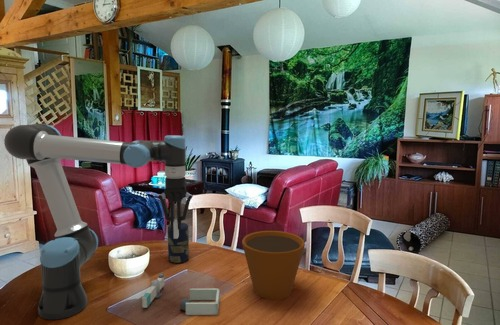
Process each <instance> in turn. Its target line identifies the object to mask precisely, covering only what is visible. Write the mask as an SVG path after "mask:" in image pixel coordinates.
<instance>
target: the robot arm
mask: <svg viewBox="0 0 500 325" xmlns="http://www.w3.org/2000/svg"><path fill="white" fill-rule="evenodd" d="M3 142H4V146H5V147H4V148H5V149H6V151H7V152H8V153H9V154H10V155H11V156H12V157H14V158H16V159H20V160H25V161H26V163H27V166H29V167H31V168H33V169H34V170H35V174H36V175H37V179H38V182H39V184H40V186H41V189H42V193H43V195H44V198H45V201H46V203H47V205H48V208H49V211H50V214H51V217H52V219H53V221H54V225H55V228H56V232H55V233H54V238H55V239H54V240H52V239H51V240H50V241H47V242H46V243H45V244H44V245H43V246H42V247H41V249H40V256H39V262H40V268H41V269H40V270H41V283H42V284H41V286H42V292H41V295H40V299H39V302H38V305H37V312H38V316H39V315H40V316H41V317H42V319H44V318H45V320H51V321H53V320H60V319H61V320H62V319H67V318H69V317H72V316H75V315H78V314H79V313H80V312H82V311H83V310H84V309H85V308H86V307H87V306H88V296H87V293H86V291H85V289H84V287H83V285H82V281H81V267H82V266H84V264H85V263H86V262H87V261H88V260H89V259H91V258H92V257H93V256H94V254H95V253H96V251H97V249H98V246H99V238H98V235H97V234H96V233H95V230H92V229H91V228H90V227H89V224H88V223H87V222H84V221H83V220H82V218H81V216H80V212H79V209H78V208H77V205H76V204H77V203H76V202H75V199H74V195H73V193H72V190H71V187H70V185H69V182H68V179H67V176H66V173H65V171H64V168H63V165H62V162H61V160H72V161H83V162H94V163H106V164H115V165H117V164H119V165H124V166H129V167H131V168H141V167H143V166H145V165H147V164H148V163H150V162H164V176H165V178H164V186H165V187H164V191H163V192H162V193H160V194H159V195H157V198H158V200H160V203H161V207H162V211H163V215H164V218H165V221H170V224H171V229H174V239H178V237H179V229H181V223H182V222H183V221H185V220H186V218H187V215H188V210H189V207H190V202H191V200H192V198H193V197H194V196H193V194H190V193H189V192H188V190H187V187H186V186H187V183H186V177H185V176H186V173H187V172H186V139H185V137H184V136H183V135H176V134H175V135H170V134H169V135H165V136H164V140H143V139H142V140H134V141H132V142H127V141H126V142H125V141H116V140H106V139H97V138H88V137H76V136H75V137H74V136H66V135H62V134H61V133H60V131H59V130H58V129H57V128H56V127H54V126H52V125H50V124H46V123H45V124H44V123H36V124H35V123H33V124H20V125H15V126H13V127H12V128H10V129H9V130H8V131H7V132H6V134H5V136H4V140H3ZM166 198H167V199H168V200H169V205H170V206H169V208H168V204H167V200H166ZM184 198H185V199H186V201H185V205H184V207H183V209H184V210H183V214H182V200H183V199H184ZM175 202H176V207H175ZM175 208H176V212H177V213H175ZM169 210H170V211H169ZM175 214H177V215H175ZM176 218H177V219H176ZM40 316H39V317H40ZM41 317H40V318H41Z"/></svg>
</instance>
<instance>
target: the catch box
mask: <svg viewBox="0 0 500 325" xmlns="http://www.w3.org/2000/svg"><path fill="white" fill-rule="evenodd" d="M220 289H221V288H189V299H190V301H206V300H207V301H215V302H191V303H186V311H185V316H204V315H205V316H218V315H219V309H220V308H219V307H220V306H219V305H220V291H221V290H220Z"/></svg>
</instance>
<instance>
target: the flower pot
mask: <svg viewBox="0 0 500 325" xmlns="http://www.w3.org/2000/svg"><path fill="white" fill-rule="evenodd" d="M241 244H242V249H243V251H244V252H243V253H244V256H245V259H246V260H245V261H246V264H247V268H248V270H249V275H250V278H251V279H250V280H251V283H252V287H253V291H254V292H256V293H257V294H256V293H255V294H256V295H258V296H260V297H262V298H264V299H268V300H284V299H287V298H288V297H290V296H291V294H292V290H293V289H294V284H295V280H296V278H297V274H298V273H297V272H298V270H299V266H300V262H301V260H302V256H303V252H304V249H305V246H306V242H305V240H304V239H303V238H302V237H301V236H299V235H296V234H294V233H290V232H286V231H281V230H263V231H262V230H261V231H254V232H251V233H248V234H246V235H244V237H243V239H242V241H241Z"/></svg>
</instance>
